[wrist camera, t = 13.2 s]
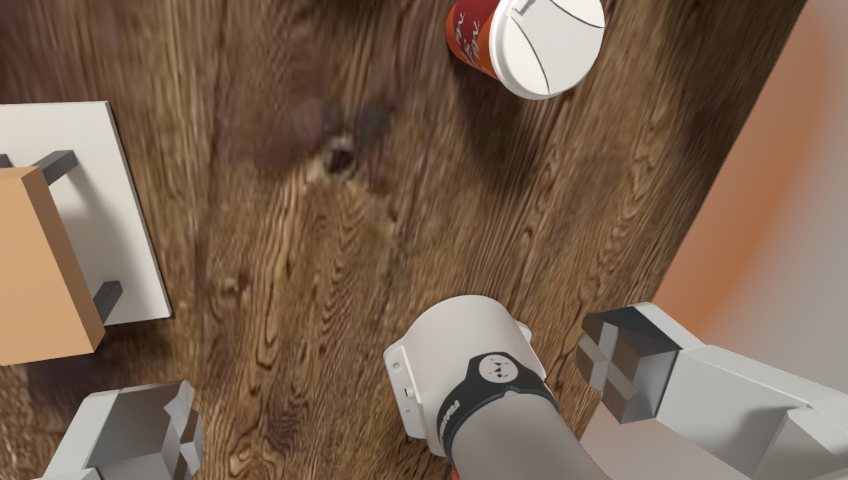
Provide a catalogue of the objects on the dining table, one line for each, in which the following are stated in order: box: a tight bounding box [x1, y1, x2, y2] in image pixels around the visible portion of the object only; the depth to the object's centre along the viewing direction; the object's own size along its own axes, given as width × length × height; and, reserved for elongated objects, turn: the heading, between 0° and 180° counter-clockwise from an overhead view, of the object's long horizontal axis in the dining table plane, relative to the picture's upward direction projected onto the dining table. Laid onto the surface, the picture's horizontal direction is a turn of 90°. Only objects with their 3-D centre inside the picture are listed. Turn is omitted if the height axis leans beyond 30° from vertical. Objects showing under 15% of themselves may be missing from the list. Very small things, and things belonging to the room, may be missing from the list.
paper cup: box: [445, 0, 604, 100], centre depth 34 cm, size 8×8×14 cm
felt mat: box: [0, 101, 172, 326], centre depth 38 cm, size 20×12×1 cm, turn 179°
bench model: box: [0, 150, 123, 366], centre depth 34 cm, size 14×6×8 cm, turn 179°
